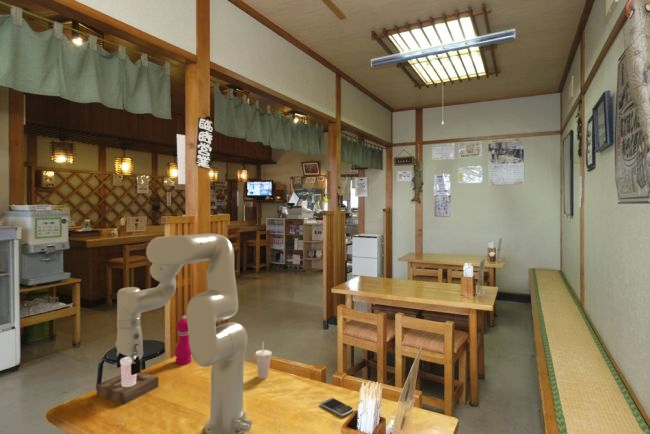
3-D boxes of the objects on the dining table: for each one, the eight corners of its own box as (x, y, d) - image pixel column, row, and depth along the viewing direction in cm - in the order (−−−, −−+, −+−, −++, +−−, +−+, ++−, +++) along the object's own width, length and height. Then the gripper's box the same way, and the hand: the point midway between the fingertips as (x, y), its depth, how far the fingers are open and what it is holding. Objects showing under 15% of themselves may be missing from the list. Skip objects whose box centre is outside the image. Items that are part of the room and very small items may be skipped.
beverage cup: (142, 381, 139) (143, 343, 139) (129, 389, 133) (131, 349, 133) (127, 379, 140) (129, 341, 140) (115, 386, 134) (116, 347, 134)
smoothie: (251, 379, 148) (252, 343, 148) (259, 372, 154) (260, 338, 154) (266, 381, 146) (267, 345, 146) (273, 374, 152) (274, 340, 152)
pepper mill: (175, 359, 165) (175, 313, 165) (192, 357, 167) (193, 312, 167) (173, 366, 158) (174, 318, 158) (192, 364, 161) (192, 317, 160)
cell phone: (342, 419, 122) (342, 415, 122) (318, 406, 130) (318, 402, 129) (354, 412, 126) (355, 408, 126) (330, 400, 134) (330, 396, 134)
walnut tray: (158, 388, 140) (158, 377, 140) (124, 406, 127) (124, 393, 127) (131, 380, 146) (131, 369, 146) (96, 396, 133) (96, 384, 133)
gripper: (152, 324, 134) (151, 372, 135) (127, 315, 144) (126, 360, 145) (131, 330, 128) (130, 380, 128) (106, 320, 138) (105, 367, 138)
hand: (128, 369), depth 137 cm, fingers open, 9 cm apart
